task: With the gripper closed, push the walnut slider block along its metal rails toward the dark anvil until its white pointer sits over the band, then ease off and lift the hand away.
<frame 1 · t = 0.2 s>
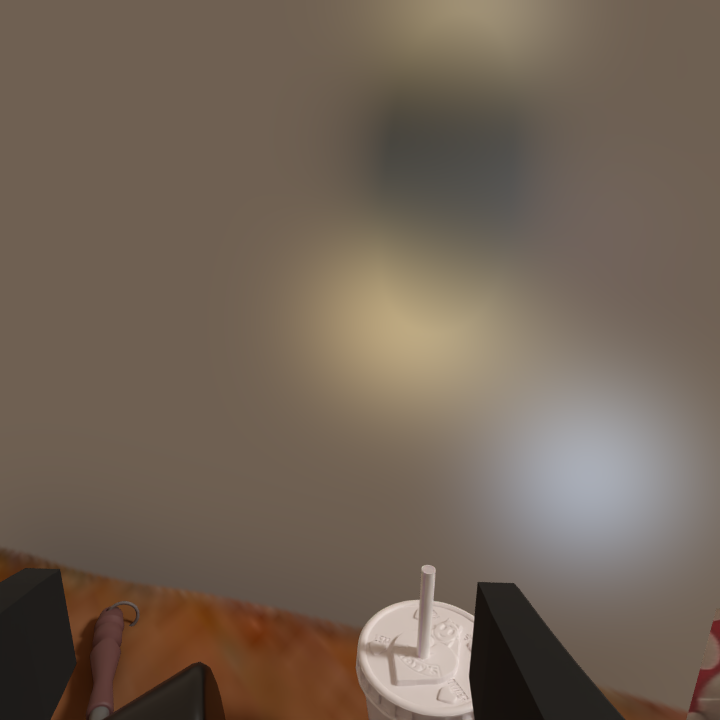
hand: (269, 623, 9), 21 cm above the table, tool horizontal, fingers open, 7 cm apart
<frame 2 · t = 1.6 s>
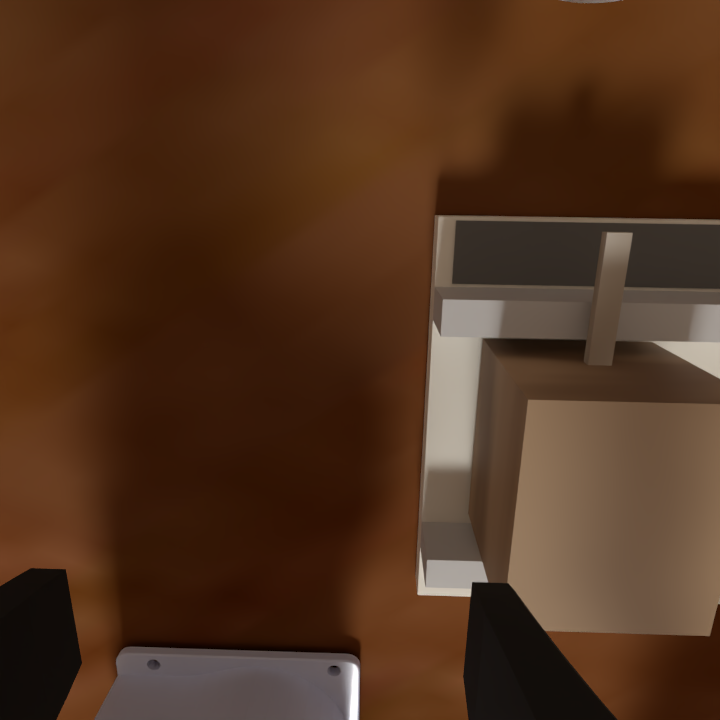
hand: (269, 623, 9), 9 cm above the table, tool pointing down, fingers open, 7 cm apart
gauge slider: (593, 415, 14), point 4 cm above the table, slide at 0.0 cm
gauge base: (694, 420, 18), on the table
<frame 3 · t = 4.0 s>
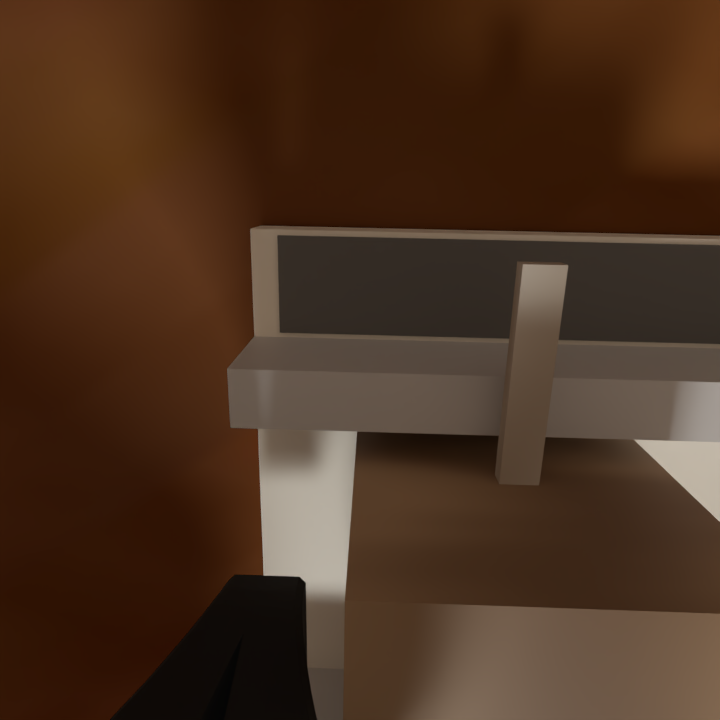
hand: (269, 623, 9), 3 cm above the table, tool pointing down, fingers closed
gauge slider: (510, 562, 9), point 4 cm above the table, slide at 0.5 cm, touching gripper
gauge base: (660, 524, 12), on the table
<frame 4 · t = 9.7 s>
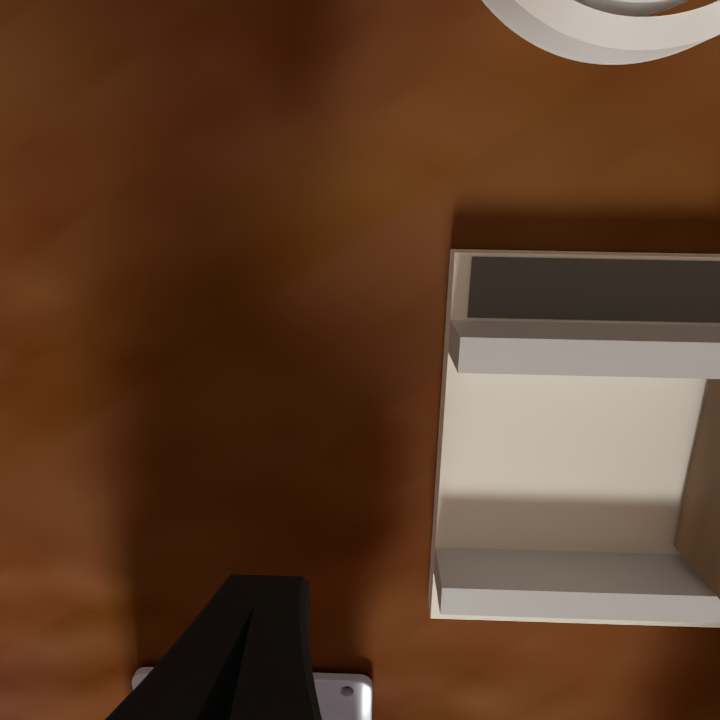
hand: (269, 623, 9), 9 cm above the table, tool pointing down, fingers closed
gauge base: (704, 448, 18), on the table
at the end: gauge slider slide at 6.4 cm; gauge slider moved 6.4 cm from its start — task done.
